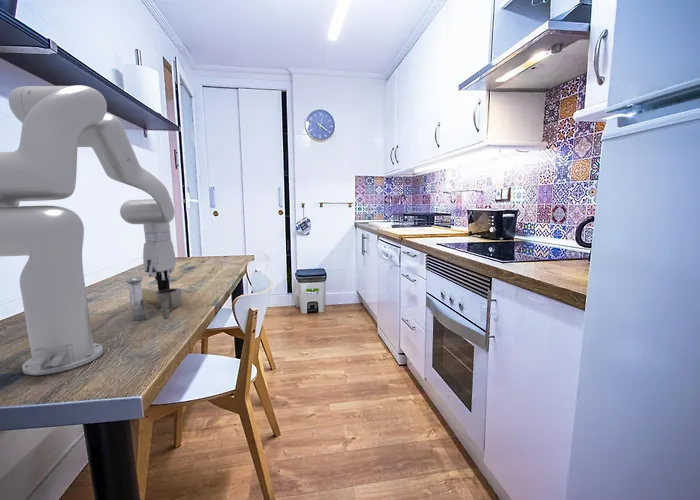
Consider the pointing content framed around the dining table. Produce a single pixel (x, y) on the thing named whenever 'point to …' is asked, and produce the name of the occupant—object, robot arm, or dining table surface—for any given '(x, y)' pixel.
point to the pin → (136, 298)
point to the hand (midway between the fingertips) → (164, 290)
